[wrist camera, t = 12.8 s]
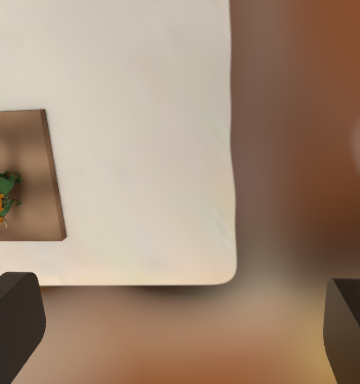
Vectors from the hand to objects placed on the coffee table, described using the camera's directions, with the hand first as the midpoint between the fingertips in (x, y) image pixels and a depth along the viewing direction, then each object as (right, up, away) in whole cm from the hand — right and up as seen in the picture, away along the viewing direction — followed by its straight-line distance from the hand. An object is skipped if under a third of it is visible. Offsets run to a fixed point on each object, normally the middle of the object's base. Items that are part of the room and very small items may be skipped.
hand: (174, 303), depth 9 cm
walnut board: (-20, +5, +33) cm, 39 cm away
